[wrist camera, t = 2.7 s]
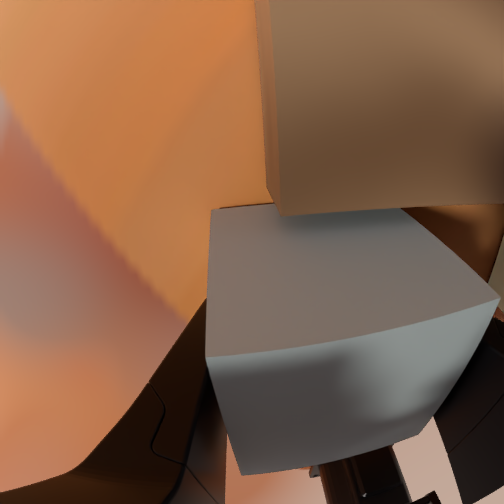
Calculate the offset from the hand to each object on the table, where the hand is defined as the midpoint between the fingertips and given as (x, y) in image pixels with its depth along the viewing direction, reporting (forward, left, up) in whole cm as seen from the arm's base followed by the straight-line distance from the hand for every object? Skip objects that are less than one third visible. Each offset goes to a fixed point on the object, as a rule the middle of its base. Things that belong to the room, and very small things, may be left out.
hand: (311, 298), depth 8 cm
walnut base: (+10, -6, -1) cm, 12 cm away
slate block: (0, 0, -1) cm, 1 cm away
